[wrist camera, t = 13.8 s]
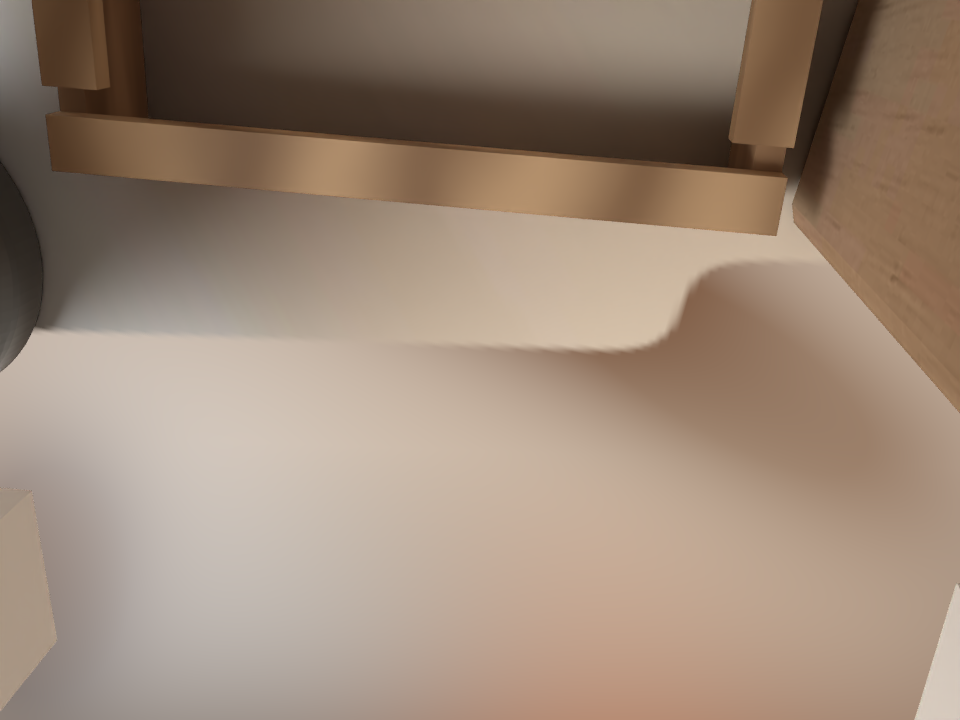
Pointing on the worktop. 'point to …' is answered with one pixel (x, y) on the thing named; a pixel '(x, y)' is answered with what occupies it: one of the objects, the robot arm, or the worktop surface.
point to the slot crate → (422, 165)
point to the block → (894, 177)
